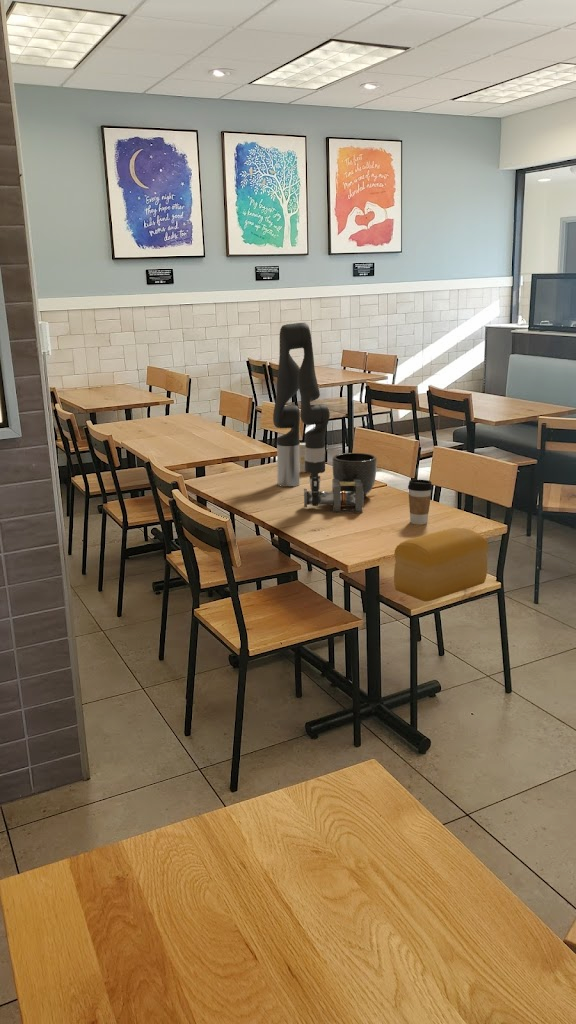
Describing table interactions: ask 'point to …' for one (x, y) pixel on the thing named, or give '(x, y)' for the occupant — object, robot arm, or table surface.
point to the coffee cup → (419, 500)
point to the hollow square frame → (337, 496)
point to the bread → (440, 563)
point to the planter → (355, 470)
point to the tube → (331, 498)
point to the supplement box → (302, 457)
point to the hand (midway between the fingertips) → (314, 503)
